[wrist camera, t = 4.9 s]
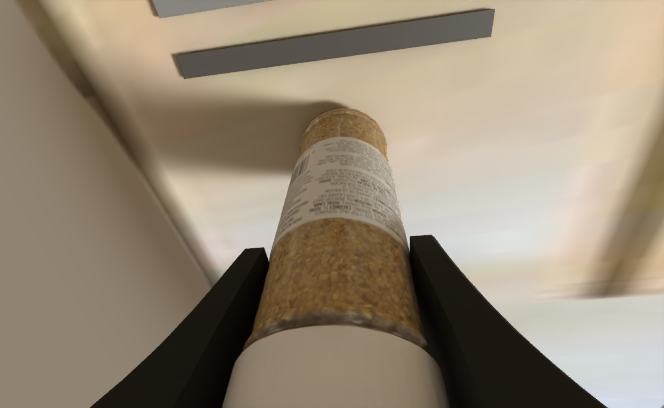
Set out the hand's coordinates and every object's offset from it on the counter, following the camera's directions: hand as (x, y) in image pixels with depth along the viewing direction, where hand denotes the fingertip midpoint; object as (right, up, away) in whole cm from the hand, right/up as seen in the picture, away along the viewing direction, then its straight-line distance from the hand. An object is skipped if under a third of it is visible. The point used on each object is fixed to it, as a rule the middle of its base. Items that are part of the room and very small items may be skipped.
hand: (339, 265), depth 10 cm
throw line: (0, +9, +4) cm, 10 cm away
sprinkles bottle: (0, +5, +7) cm, 8 cm away
